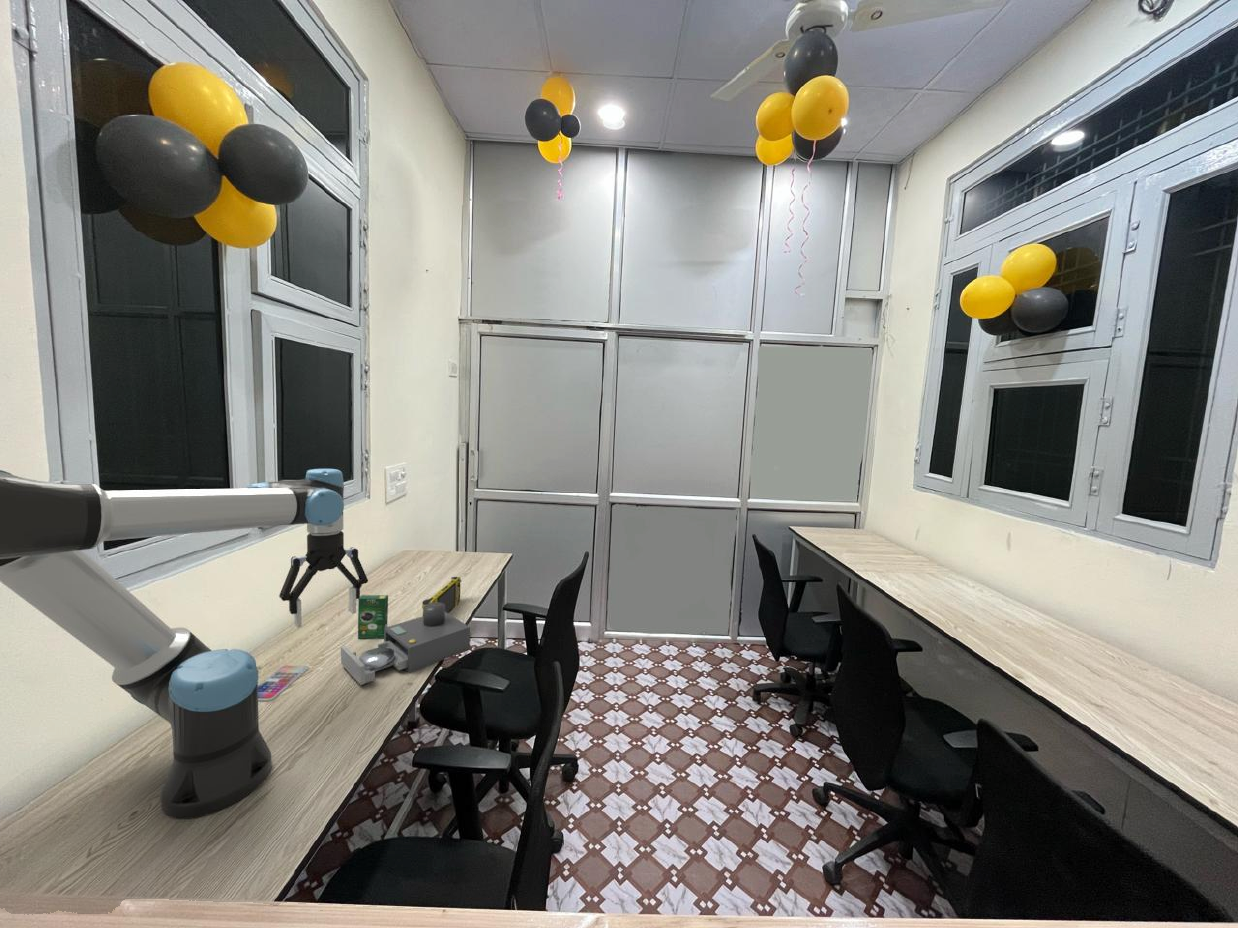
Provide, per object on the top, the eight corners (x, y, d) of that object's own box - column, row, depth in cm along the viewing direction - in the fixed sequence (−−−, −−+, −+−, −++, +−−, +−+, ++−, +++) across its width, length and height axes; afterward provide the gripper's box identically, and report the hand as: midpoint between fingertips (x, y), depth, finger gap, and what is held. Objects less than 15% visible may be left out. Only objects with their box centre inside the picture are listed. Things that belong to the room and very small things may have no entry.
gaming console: (432, 632, 144) (433, 602, 143) (420, 632, 144) (420, 602, 143) (463, 601, 169) (464, 575, 168) (452, 600, 169) (452, 575, 168)
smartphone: (311, 665, 121) (271, 699, 106) (311, 668, 121) (271, 703, 106) (283, 664, 121) (239, 698, 106) (283, 668, 121) (239, 702, 106)
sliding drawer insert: (360, 685, 112) (360, 666, 112) (341, 663, 122) (340, 646, 121) (428, 659, 126) (428, 643, 125) (406, 641, 135) (406, 626, 134)
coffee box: (388, 634, 141) (388, 594, 140) (385, 638, 138) (385, 597, 137) (361, 635, 140) (361, 594, 139) (357, 639, 137) (357, 598, 136)
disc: (366, 673, 116) (366, 666, 116) (354, 661, 121) (354, 654, 121) (399, 661, 122) (399, 655, 122) (386, 650, 128) (386, 644, 127)
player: (409, 672, 121) (409, 630, 120) (384, 650, 131) (384, 611, 130) (469, 649, 134) (470, 610, 133) (442, 631, 145) (443, 595, 144)
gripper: (269, 543, 98) (271, 639, 100) (382, 528, 116) (382, 609, 118) (261, 536, 103) (263, 627, 105) (371, 522, 121) (371, 601, 123)
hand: (326, 618), depth 111 cm, fingers open, 11 cm apart
